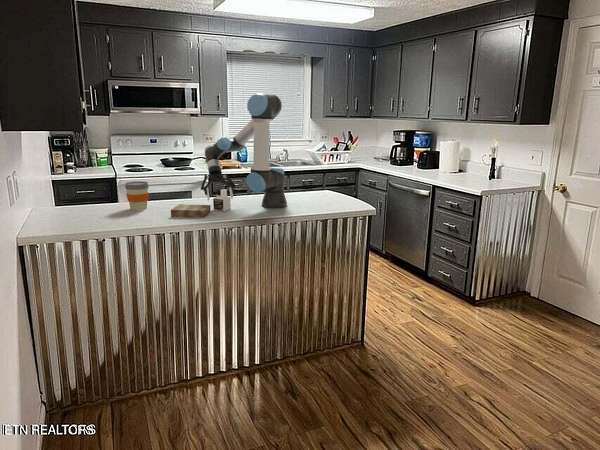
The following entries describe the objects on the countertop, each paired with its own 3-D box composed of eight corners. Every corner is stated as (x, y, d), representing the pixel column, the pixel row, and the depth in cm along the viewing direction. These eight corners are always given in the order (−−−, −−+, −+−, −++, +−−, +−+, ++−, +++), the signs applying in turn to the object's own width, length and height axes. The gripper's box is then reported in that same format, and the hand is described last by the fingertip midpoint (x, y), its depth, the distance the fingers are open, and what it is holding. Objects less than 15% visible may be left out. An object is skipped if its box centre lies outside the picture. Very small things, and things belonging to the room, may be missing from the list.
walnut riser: (210, 212, 248) (210, 205, 247) (204, 217, 235) (204, 210, 234) (179, 211, 249) (178, 204, 248) (171, 217, 235) (170, 209, 234)
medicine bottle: (213, 210, 253) (212, 189, 250) (221, 207, 259) (220, 187, 256) (223, 211, 250) (222, 190, 247) (230, 209, 256) (230, 188, 253)
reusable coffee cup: (122, 209, 251) (119, 183, 248) (139, 205, 262) (137, 180, 258) (138, 212, 246) (135, 185, 242) (154, 208, 257) (153, 182, 253)
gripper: (233, 171, 271) (240, 200, 261) (192, 173, 262) (198, 203, 252) (235, 164, 265) (242, 193, 255) (193, 165, 256) (199, 195, 246)
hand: (220, 198), depth 254 cm, fingers open, 13 cm apart
